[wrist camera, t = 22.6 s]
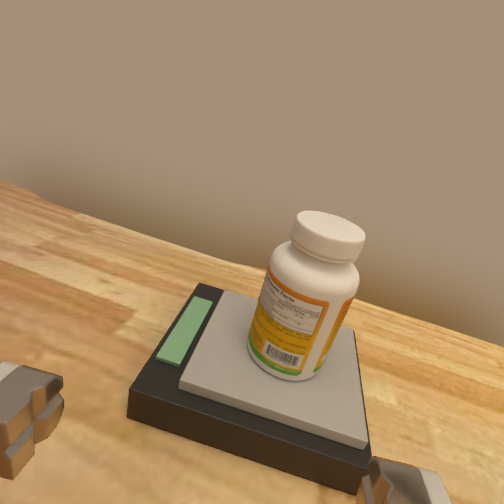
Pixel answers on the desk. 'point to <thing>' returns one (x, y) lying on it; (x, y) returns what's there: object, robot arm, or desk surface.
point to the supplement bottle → (305, 295)
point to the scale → (254, 395)
